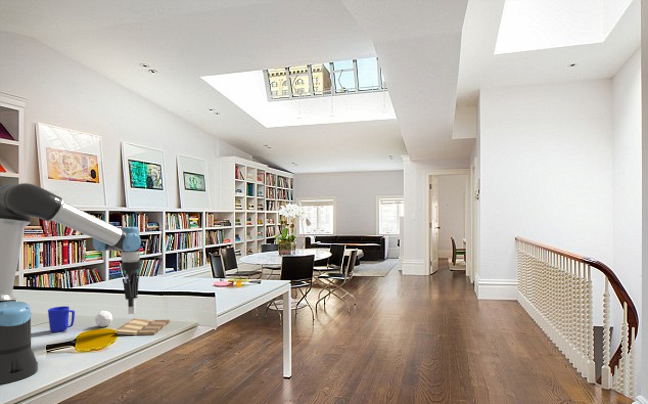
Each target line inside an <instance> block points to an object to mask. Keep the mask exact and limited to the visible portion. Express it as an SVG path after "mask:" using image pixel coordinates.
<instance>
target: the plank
mask: <svg viewBox="0 0 648 404" xmlns="http://www.w3.org/2000/svg"><path fill="white" fill-rule="evenodd" d="M153 321H154V319H147V318H146V319H144V318H132V319H131V320H130V321H128V322H126V323H125V324H123V325H122V326H119V327H118V328H116V329H115V330H114V331H116V332H117V334H116V335H128V336H137V334H138V332H140V331H141V330H142V329H144V328H145V327H146V326H148V325H149V324H151V323H152V322H153Z"/></svg>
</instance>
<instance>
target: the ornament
mask: <svg viewBox="0 0 648 404" xmlns="http://www.w3.org/2000/svg"><path fill="white" fill-rule="evenodd" d="M94 320H95V323H96V325H97V326H98V327H101V328H105V326H106V327H108V326H109V325H110V324H112V322H113V315H112V313H111V312H109V311H108V310H101V311H100V312H99V313H97V314H96V316H95V318H94Z"/></svg>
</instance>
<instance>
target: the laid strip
mask: <svg viewBox="0 0 648 404" xmlns="http://www.w3.org/2000/svg"><path fill="white" fill-rule="evenodd" d="M169 323H171V319H154V320H153V322H152V323H151V324H149V325H148V326H146V327H145V328H144V329H142V330H141V331H140V332H138V334H136V336H150V335H151V336H153V335H157V333H159V331H161V330H162V329H163V328H165V327H166V326H167V325H168V324H169Z"/></svg>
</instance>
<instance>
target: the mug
mask: <svg viewBox="0 0 648 404" xmlns="http://www.w3.org/2000/svg"><path fill="white" fill-rule="evenodd" d="M70 313H71V320H70V325H69V319H70ZM75 314H76V311H75V310H74V309H70V306H67V305H66V306H64V305H63V306H56V307H55V306H54V307H51V308H49V309H47V315H48V323H49V330H50V332H53V333H59V332H64V331H66V330H68V328H71V327H73V326H74V323H75V318H76V317H75V316H76V315H75Z"/></svg>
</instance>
